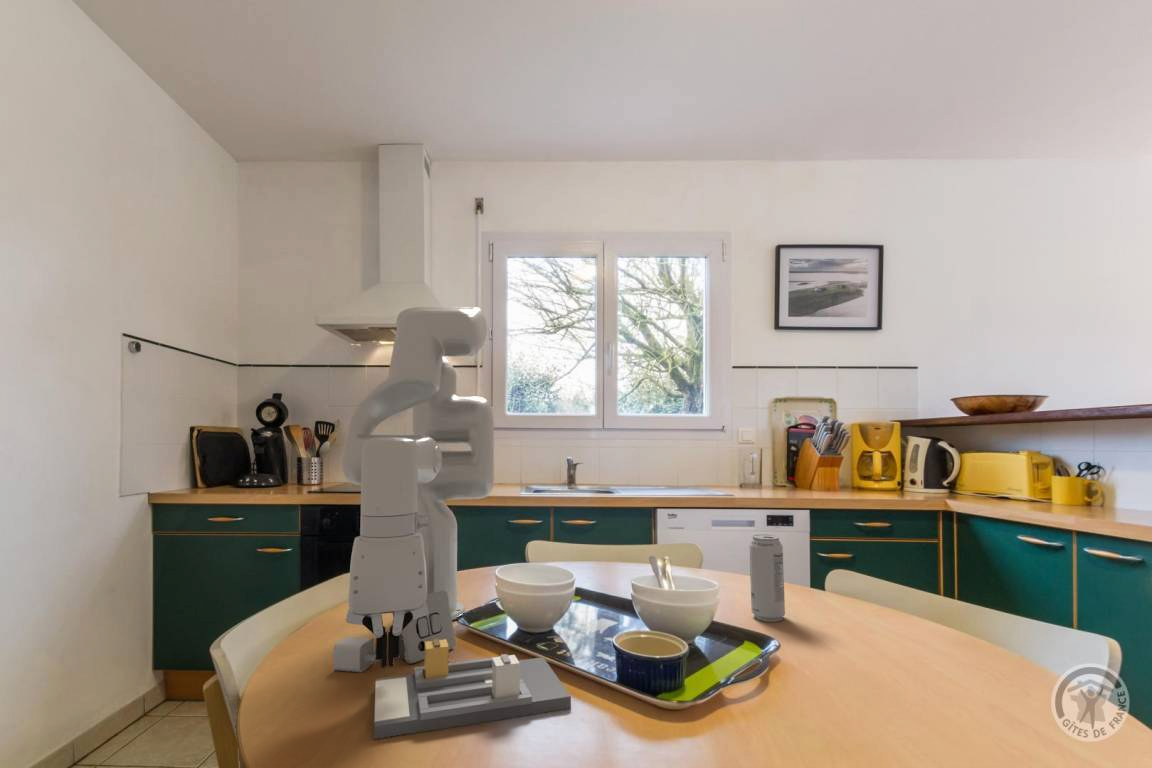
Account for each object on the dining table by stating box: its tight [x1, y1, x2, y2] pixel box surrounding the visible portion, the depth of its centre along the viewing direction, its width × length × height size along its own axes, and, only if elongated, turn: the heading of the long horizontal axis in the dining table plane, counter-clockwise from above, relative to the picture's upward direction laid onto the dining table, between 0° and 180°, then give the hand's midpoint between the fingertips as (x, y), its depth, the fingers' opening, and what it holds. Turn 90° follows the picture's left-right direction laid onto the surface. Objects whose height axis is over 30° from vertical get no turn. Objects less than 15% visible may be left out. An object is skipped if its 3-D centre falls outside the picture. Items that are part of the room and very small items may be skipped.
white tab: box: [491, 653, 520, 699], centre depth 78 cm, size 3×3×5 cm
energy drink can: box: [749, 534, 786, 623], centre depth 114 cm, size 6×6×15 cm
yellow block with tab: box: [424, 638, 450, 679], centre depth 84 cm, size 3×3×5 cm
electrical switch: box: [392, 591, 457, 665], centre depth 98 cm, size 9×5×9 cm, turn 141°
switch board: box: [373, 654, 572, 740], centre depth 81 cm, size 15×24×2 cm, turn 108°
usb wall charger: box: [332, 636, 380, 673], centre depth 92 cm, size 4×7×4 cm, turn 78°
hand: (387, 663), depth 82 cm, fingers closed
